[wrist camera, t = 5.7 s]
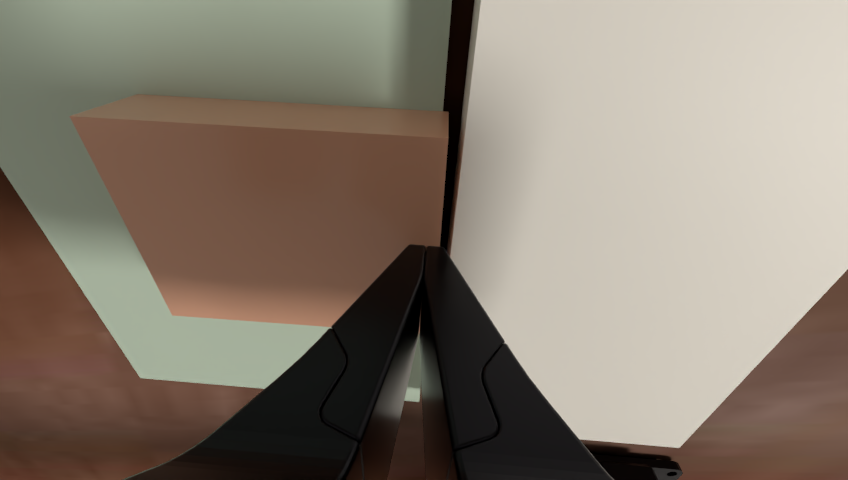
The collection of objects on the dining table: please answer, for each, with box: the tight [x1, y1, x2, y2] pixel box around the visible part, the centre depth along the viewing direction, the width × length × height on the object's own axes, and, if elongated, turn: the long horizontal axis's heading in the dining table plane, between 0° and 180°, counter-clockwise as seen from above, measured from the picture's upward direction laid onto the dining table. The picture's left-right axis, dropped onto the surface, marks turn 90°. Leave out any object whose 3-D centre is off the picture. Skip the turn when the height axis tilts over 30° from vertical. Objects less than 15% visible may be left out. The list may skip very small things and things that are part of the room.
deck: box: [447, 0, 848, 448], centre depth 10 cm, size 18×10×2 cm, turn 177°
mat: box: [0, 0, 452, 402], centre depth 11 cm, size 20×13×1 cm, turn 177°
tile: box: [69, 94, 449, 332], centre depth 10 cm, size 6×8×2 cm
